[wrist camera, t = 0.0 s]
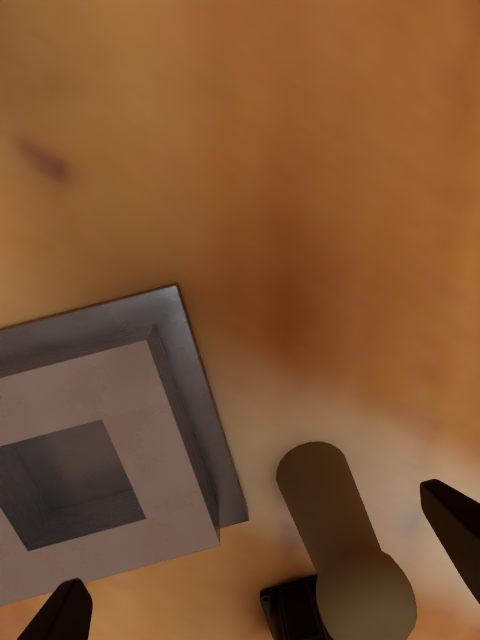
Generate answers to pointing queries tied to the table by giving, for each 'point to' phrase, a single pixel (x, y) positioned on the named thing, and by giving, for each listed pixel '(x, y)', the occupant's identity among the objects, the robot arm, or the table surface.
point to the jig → (108, 445)
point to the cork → (344, 548)
